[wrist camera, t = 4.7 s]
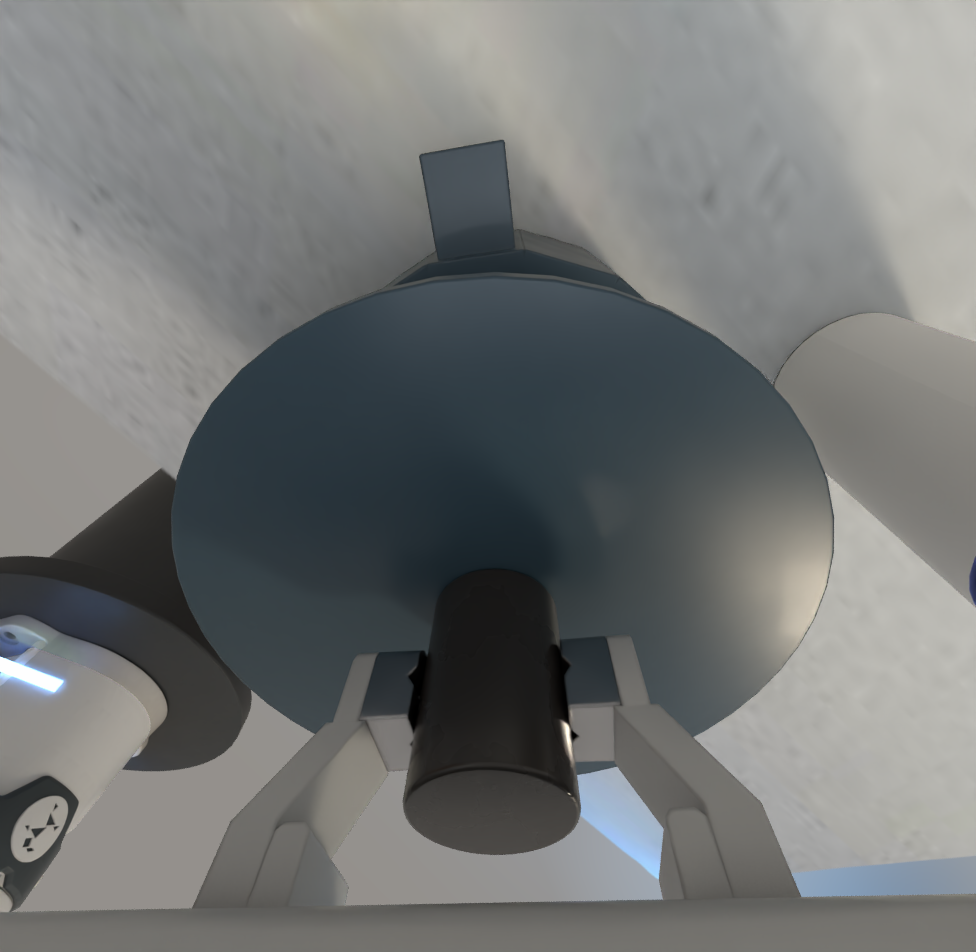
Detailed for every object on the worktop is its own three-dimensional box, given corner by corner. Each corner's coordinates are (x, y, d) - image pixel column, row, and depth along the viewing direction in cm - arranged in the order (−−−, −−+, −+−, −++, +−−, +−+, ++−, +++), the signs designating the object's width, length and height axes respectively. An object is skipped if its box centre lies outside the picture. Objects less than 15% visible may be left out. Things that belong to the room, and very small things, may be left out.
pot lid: (313, 758, 17) (240, 974, 13) (64, 328, 10) (-376, 461, 5) (758, 735, 16) (868, 971, 11) (888, 203, 8) (1447, 215, 3)
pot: (412, 549, 31) (382, 661, 23) (310, 190, 21) (200, 190, 13) (645, 528, 29) (690, 641, 22) (658, 130, 19) (750, 92, 12)
